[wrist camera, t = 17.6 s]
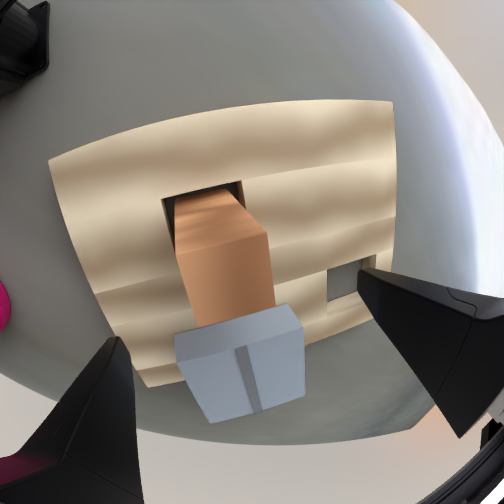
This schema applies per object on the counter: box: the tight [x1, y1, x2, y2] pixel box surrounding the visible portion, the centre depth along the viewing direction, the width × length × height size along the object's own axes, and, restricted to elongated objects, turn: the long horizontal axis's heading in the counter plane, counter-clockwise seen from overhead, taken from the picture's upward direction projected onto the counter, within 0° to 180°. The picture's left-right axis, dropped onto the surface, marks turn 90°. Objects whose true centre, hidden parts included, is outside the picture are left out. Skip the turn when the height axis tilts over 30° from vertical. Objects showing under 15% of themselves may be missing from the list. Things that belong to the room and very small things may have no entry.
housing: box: [174, 303, 305, 424], centre depth 21 cm, size 9×9×3 cm
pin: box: [175, 188, 276, 327], centre depth 15 cm, size 4×4×9 cm
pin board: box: [48, 100, 396, 387], centre depth 20 cm, size 20×24×2 cm
